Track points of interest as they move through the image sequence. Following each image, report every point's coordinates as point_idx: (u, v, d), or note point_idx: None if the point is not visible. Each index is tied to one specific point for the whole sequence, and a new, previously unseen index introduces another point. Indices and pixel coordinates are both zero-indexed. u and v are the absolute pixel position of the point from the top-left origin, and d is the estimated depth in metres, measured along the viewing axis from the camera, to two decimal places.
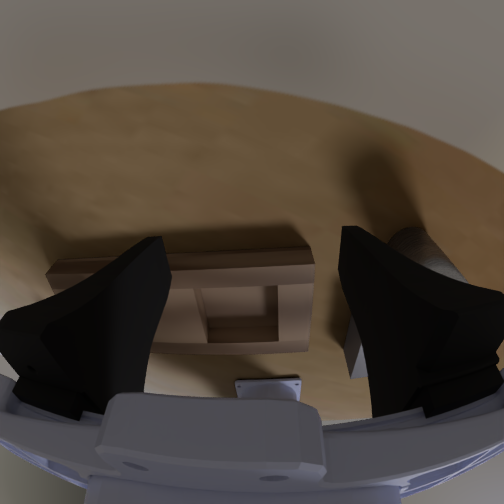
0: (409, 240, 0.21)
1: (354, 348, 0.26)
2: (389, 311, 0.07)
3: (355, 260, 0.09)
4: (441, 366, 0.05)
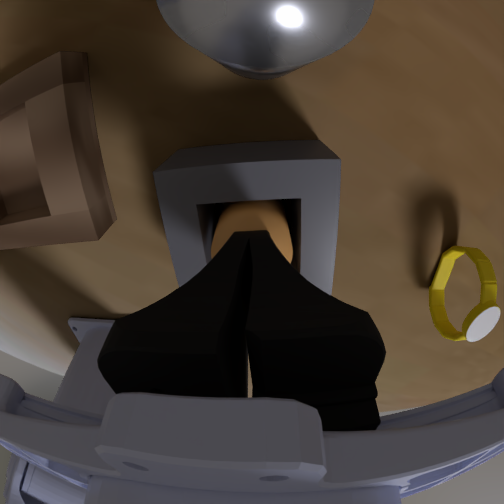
0: None
1: None
2: None
3: None
4: (277, 391, 0.05)
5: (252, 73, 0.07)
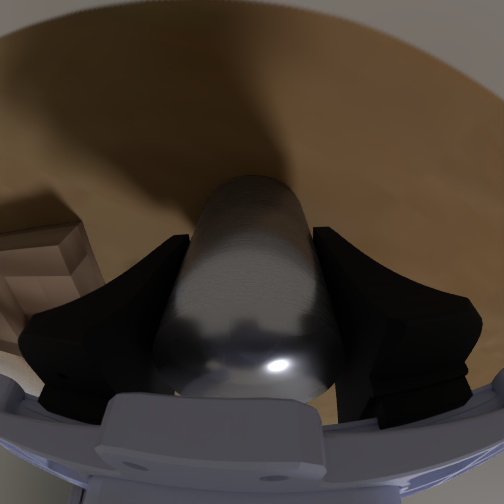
0: (219, 197, 0.11)
1: None
2: (349, 315, 0.07)
3: (323, 262, 0.10)
4: (396, 376, 0.05)
5: None
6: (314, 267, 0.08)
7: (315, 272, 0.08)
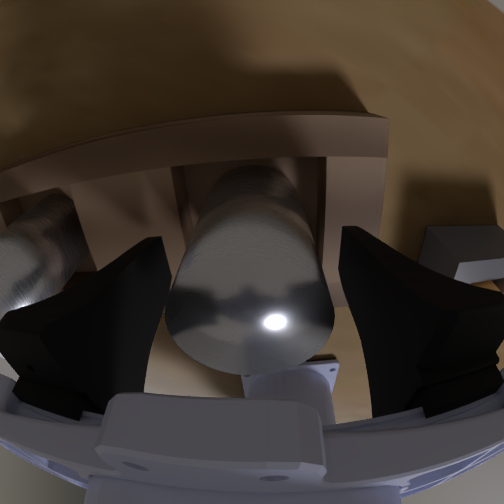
0: (223, 183, 0.12)
1: None
2: (390, 310, 0.07)
3: (355, 260, 0.09)
4: (441, 366, 0.05)
5: None
6: (307, 238, 0.09)
7: (308, 241, 0.09)
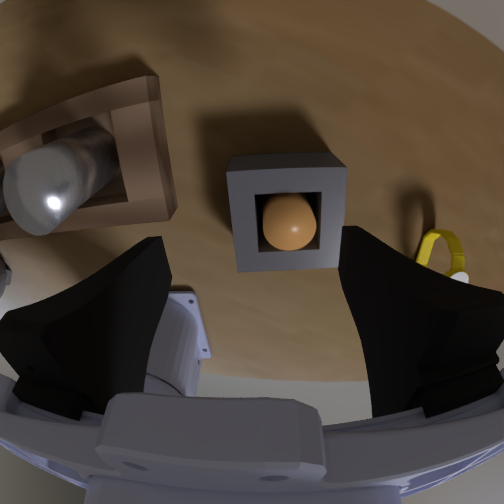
0: None
1: None
2: (389, 310, 0.07)
3: (355, 260, 0.09)
4: (441, 366, 0.05)
5: None
6: (66, 153, 0.13)
7: (64, 154, 0.13)
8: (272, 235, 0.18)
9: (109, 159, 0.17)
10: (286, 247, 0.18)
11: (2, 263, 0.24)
